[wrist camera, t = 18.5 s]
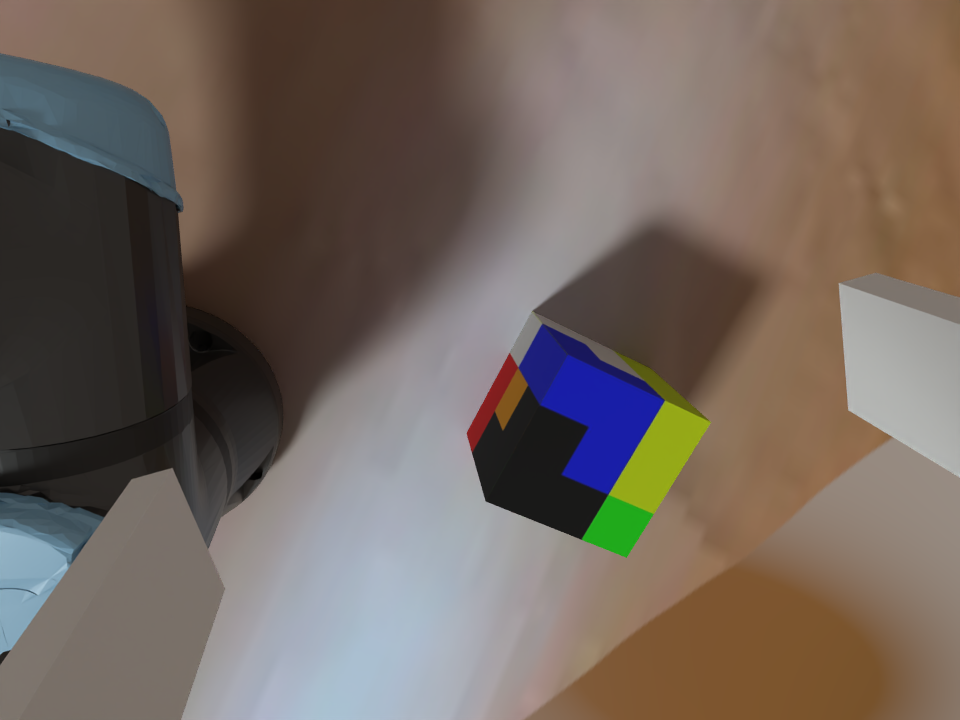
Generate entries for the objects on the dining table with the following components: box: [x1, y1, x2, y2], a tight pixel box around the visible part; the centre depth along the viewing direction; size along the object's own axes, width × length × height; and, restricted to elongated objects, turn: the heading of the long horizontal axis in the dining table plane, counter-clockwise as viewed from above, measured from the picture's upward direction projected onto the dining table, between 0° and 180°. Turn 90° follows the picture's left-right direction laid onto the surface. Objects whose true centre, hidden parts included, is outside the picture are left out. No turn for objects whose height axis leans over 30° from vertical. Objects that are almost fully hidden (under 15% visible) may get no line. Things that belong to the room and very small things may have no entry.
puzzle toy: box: [467, 311, 711, 558], centre depth 47 cm, size 10×10×10 cm
